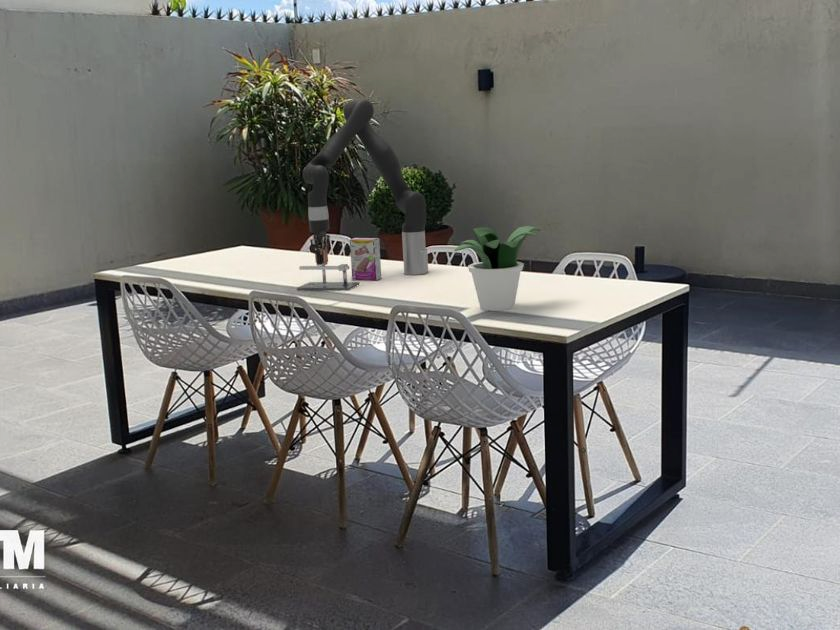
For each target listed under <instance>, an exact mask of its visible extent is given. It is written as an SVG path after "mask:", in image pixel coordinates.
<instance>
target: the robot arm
mask: <svg viewBox="0 0 840 630" xmlns="http://www.w3.org/2000/svg"><path fill="white" fill-rule="evenodd" d="M342 112H343V116H344V119H345V121H346V122H345V123H344V124H343V125H342V126H341V127H340V128H339V129H338V130H337V131H336V132H335V133H334V134H333V135H331V137H330V138H329V139H328V140H327V142H326V143H325V144H324V145H323V147H322V148H321V149H320V151H319V153H318V154H317V155H316V156H314V158H312V160H310V161H309V162H308V163H307V164H306V165H305V167H304V169H303V171H302V179H303V181H304V182H305V183H307V184H310V185H312V190H311V191H309V192H308V193H307V201H308V202H307V204H308V205H307V206H308V212H307V213H308V224H309V225H308V226H309V227H308V228H309V232H313V235H312V236H313V237H312V239H309V240H310V245H311V251H312V253H313V255H316V260H317V263H316V265H317V264H323V259H322V249H327V251H330V238H331V235H330V234H327V232H329V230H330V219H329V210H328V209H329V208H328V202H327V194H328V188H329V187H328V186H329V182H330V181H329V180H330V179H329V178H330V177H329V172H328V168H332V166H334V165H335V164H336V162H337V161H338V159H339V158H340V157H341V155H342V154H343V152H344V150H345V149H346V148H347V147H348V145H349V144H350V143H351V141H352V140H353V139H354V138H355V136H356V137H357V138H358V139H359V141H360V142H361V144H362V145H363V147H364V149H365V150H366V153H367V154H368V155H369V157H370V159H371V161H372V162H373V164H374V166H375V168H376V170H377V171H378V172H379V174H380V176H381V178H382V179H383V181H384V182H385V184H386V185H387V187H388V189H389V190H390V193H391V195H392V197H393V199H394V201H395V204H396V206H397V207H398V209H399V210H400V211H401V212H402V213H403V214H404V215H405V217H404V223H403V224H402V225H401V236H402V237H401V239H402V256H403V257H402V258H403V273H404V275H407V276H414V275H415V276H416V275H425V274H427V273H429V260H428V259H429V258H428V248H426V233H425V232H426V231H425V228H426V227H425V226H426V223H427V204H426V203H427V202H426V199H425V197H424V195H423V194H422V193H421V192H418V191H413V190H411V188H410V186H409V185H408V183H407V182H406V180H405V178H404V176H403V173H402V167H401V162H400V160H399V158H398V156H397V154H396V153H395V151H394V149H393V148H392V146H391V144H390V143H389V142H387V141H386V140H385V139H384V138H383V137H382V136H381V135H380V134H379V133H378V132H376V131H375V129H374V128H373V127H372V125H371V124H370V121H371V120H372V119H373V117H374V112H375V110H374V106H373V104H372V102H371V101H369V100H367V99H366V98H365V99H362V98H361V99H357V100H352V101H349V102H347V103H346V104H345V105H344V107H343V111H342ZM316 260H315V261H316Z"/></svg>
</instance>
